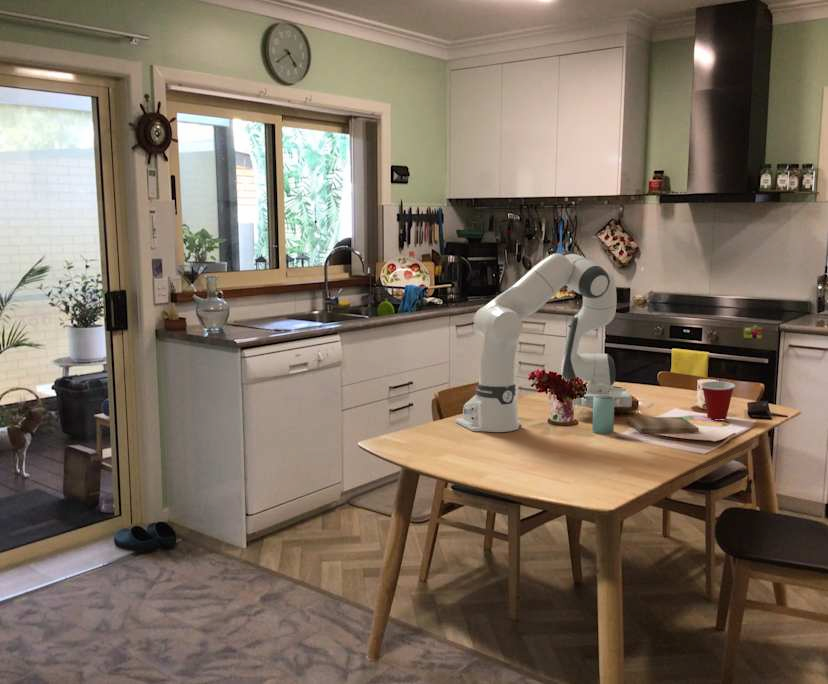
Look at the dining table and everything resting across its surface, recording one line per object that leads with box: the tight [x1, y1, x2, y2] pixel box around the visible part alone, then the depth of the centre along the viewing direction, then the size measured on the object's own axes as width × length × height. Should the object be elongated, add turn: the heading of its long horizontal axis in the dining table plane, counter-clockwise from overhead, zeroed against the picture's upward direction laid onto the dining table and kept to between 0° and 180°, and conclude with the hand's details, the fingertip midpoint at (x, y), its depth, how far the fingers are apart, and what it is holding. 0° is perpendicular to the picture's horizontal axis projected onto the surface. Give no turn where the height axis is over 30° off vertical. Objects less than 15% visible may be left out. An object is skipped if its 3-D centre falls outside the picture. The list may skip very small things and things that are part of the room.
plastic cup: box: [700, 380, 736, 421], centre depth 269 cm, size 11×11×12 cm
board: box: [626, 416, 700, 434], centre depth 258 cm, size 18×16×2 cm
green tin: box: [592, 395, 615, 435], centre depth 251 cm, size 6×6×11 cm
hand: (601, 403), depth 263 cm, fingers open, 8 cm apart
